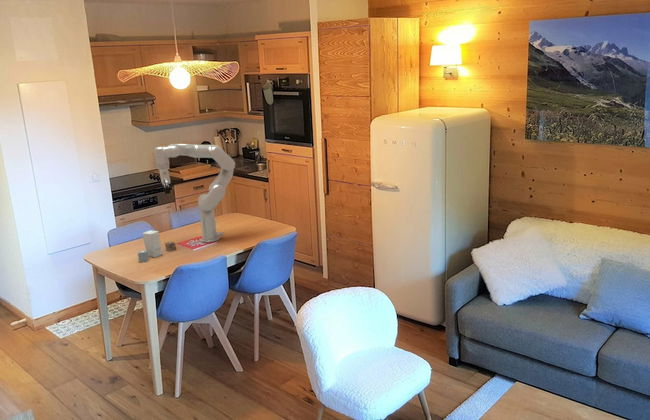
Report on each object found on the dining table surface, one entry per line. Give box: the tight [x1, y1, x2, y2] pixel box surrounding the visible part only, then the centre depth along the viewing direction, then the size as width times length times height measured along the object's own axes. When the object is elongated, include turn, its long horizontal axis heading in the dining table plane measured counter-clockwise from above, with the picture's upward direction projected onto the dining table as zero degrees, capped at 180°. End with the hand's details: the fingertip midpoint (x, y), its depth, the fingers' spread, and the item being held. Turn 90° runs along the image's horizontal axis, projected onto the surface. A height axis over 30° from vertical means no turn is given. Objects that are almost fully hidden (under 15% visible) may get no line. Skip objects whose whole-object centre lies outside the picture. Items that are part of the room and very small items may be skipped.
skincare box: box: [142, 230, 163, 258], centre depth 352 cm, size 8×7×16 cm
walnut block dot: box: [164, 240, 177, 252], centre depth 362 cm, size 5×5×5 cm
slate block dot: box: [137, 249, 149, 263], centre depth 345 cm, size 5×5×6 cm
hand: (166, 192), depth 361 cm, fingers open, 9 cm apart
